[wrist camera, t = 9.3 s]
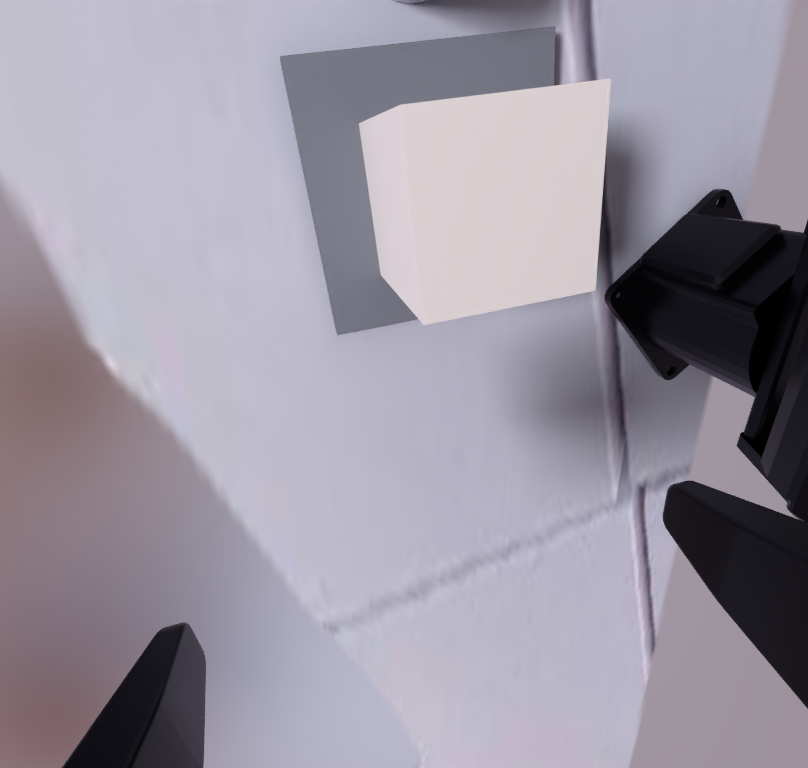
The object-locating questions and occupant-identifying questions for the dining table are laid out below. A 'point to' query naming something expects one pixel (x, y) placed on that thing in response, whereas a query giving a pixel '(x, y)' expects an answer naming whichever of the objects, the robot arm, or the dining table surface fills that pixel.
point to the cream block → (488, 197)
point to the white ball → (409, 1)
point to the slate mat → (342, 148)
